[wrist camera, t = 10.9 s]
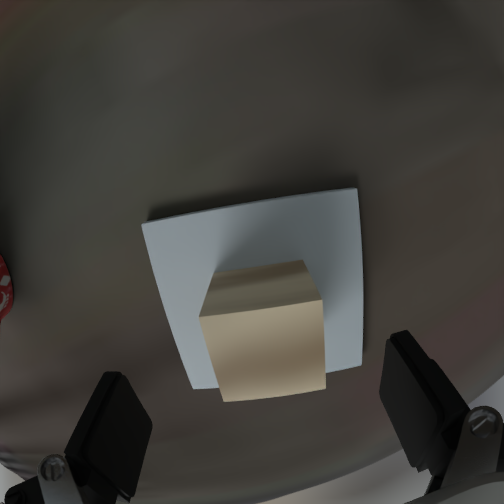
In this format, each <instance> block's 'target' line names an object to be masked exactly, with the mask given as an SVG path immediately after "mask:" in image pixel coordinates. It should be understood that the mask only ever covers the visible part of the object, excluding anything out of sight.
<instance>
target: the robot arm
mask: <svg viewBox="0 0 504 504" xmlns="http://www.w3.org/2000/svg"><path fill="white" fill-rule="evenodd" d="M379 394H380V398H381V401H382V403H383V405H384V407H385V409H386V411H387V414H388V416H389V418H390V420H391V422H392V424H393V427H394V429H395V431H396V433H397V436H398V438H399V440H400V442H401V445H402V447H403V449H404V451H405V454H406V456H407V458H408V461H409V463H410V465H411V466H412V467H416V468H417V470H418V472H421V471H423V470H426V469H429V471H430V473H431V475H432V477H431V480H430V483H429V485H428V487H427V490H426V492H425V494H424V496H422V497H419V498H417V499H414V500H412V501H410V502H407V503H404V504H504V423H503V419H502V417H501V415H500V413H499V412H498V411H497V410H496V409H494V408H492V407H489V406H479V407H475V408H474V409H472V410H470V408H469V407H468V405H467V404H466V403H465V401H464V400H463V398H462V397H461V395H460V394H459V393H458V391H457V390H456V388H455V387H454V386H453V384H452V383H451V382H450V380H449V379H448V377H447V376H446V375H445V373H444V372H443V371H442V369H441V368H440V367H439V365H438V364H437V363H436V362H435V361H434V360H433V359H430V358H429V357H428V356H427V354H426V353H425V352H424V350H423V349H422V348H421V347H420V345H419V344H418V343H417V341H416V340H415V339H414V338H413V336H412V335H411V334H410V332H409V331H408V330H404V331H400V332H397V333H393V334H391V336H390V339H387V341H386V348H385V356H384V364H383V371H382V377H381V384H380V390H379ZM151 431H152V421H151V419H150V417H149V416H148V414H147V413H146V411H145V409H144V408H143V406H142V404H141V402H140V401H139V399H138V397H137V396H136V394H135V392H134V390H133V389H132V387H131V385H130V383H129V381H128V379H127V378H126V376H124V375H122V373H121V372H105V373H104V374H103V376H102V377H101V379H100V381H99V383H98V385H97V387H96V389H95V390H94V392H93V394H92V396H91V398H90V400H89V402H88V404H87V406H86V408H85V410H84V412H83V414H82V416H81V417H80V419H79V421H78V424H77V426H76V428H75V430H74V432H73V434H72V436H71V438H70V440H69V442H68V444H67V446H66V448H65V451H64V453H65V454H66V455H65V458H64V457H63V456H61V455H59V454H51V455H48V456H46V457H45V458H43V459H42V460H41V462H40V463H39V465H38V469H37V475H38V476H35V477H33V478H31V479H29V480H27V481H24V482H22V483H20V484H17V485H15V486H13V487H11V488H9V490H8V491H7V492H6V494H5V499H4V500H5V504H115V503H116V500H117V501H122V502H127V503H130V499H131V497H133V496H134V495H135V492H136V488H137V484H138V480H139V476H140V472H141V468H142V464H143V460H144V456H145V453H146V449H147V445H148V442H149V438H150V435H151ZM0 504H4V503H3V502H1V503H0Z"/></svg>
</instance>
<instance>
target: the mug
mask: <svg viewBox="0 0 504 504" xmlns="http://www.w3.org/2000/svg"><path fill="white" fill-rule="evenodd" d="M12 303H13V289H12V283H11V279H10V275H9V272H8V269H7V267H6V264H5V262H4V260H3V258H2V256H1V255H0V323H1V319H2V318H4V317H5V316H6V315H7V314H8V313H9V312H10V310H11V307H12Z"/></svg>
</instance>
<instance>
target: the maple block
mask: <svg viewBox="0 0 504 504" xmlns="http://www.w3.org/2000/svg"><path fill="white" fill-rule="evenodd" d="M199 321H200V325H201V328H202V332H203V335H204V339H205V342H206V346H207V349H208V353H209V356H210V359H211V363H212V366H213V369H214V372H215V376H216V379H217V382H218V385H219V388H220V391H221V394H222V397H223V400H224V402H229V401H241V400H252V399H261V398H270V397H278V396H285V395H292V394H298V393H304V392H310V391H316V390H321V389H326V374H325V341H324V319H323V302H322V298H321V296H320V294H319V292H318V290H317V288H316V285H315V283H314V281H313V279H312V277H311V275H310V273H309V271H308V269H307V267H306V265H305V263H304V261H303V260H296V261H290V262H283V263H277V264H270V265H264V266H257V267H250V268H243V269H237V270H230V271H223V272H216V273H213V276H212V279H211V282H210V285H209V287H208V290H207V293H206V296H205V299H204V302H203V305H202V308H201V311H200V314H199Z"/></svg>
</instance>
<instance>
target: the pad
mask: <svg viewBox="0 0 504 504" xmlns="http://www.w3.org/2000/svg"><path fill="white" fill-rule="evenodd" d="M141 225H142V229H143V233H144V238H145V242H146V245H147V249H148V253H149V257H150V261H151V264H152V268H153V272H154V275H155V279H156V282H157V286H158V289H159V292H160V296H161V299H162V302H163V305H164V309H165V312H166V315H167V318H168V321H169V324H170V327H171V330H172V333H173V336H174V339H175V342H176V345H177V347H178V350H179V353H180V356H181V359H182V361H183V364H184V367H185V369H186V372H187V375H188V377H189V380H190V382H191V385H192V387H193V389H205V388H219V385H218V382H217V379H216V376H215V372H214V369H213V366H212V363H211V359H210V356H209V353H208V349H207V346H206V342H205V339H204V335H203V332H202V328H201V325H200V321H199V314H200V311H201V308H202V305H203V302H204V299H205V296H206V293H207V290H208V287H209V285H210V282H211V279H212V276H213V273H216V272H223V271H230V270H237V269H243V268H250V267H257V266H264V265H270V264H277V263H283V262H290V261H296V260H303V261H304V263H305V265H306V267H307V269H308V271H309V273H310V275H311V277H312V279H313V281H314V283H315V285H316V288H317V290H318V292H319V294H320V296H321V298H322V302H323V319H324V341H325V373H328V372H333V371H338V370H342V369H347V368H351V367H356V366H360V365H361V364H362V343H363V265H362V243H361V228H360V215H359V203H358V193H357V189H356V188H344V189H336V190H328V191H320V192H313V193H306V194H299V195H292V196H285V197H278V198H272V199H265V200H259V201H253V202H247V203H241V204H235V205H229V206H224V207H218V208H212V209H207V210H202V211H196V212H191V213H186V214H181V215H176V216H171V217H166V218H161V219H156V220H151V221H146V222H145V223H143V224H141Z"/></svg>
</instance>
